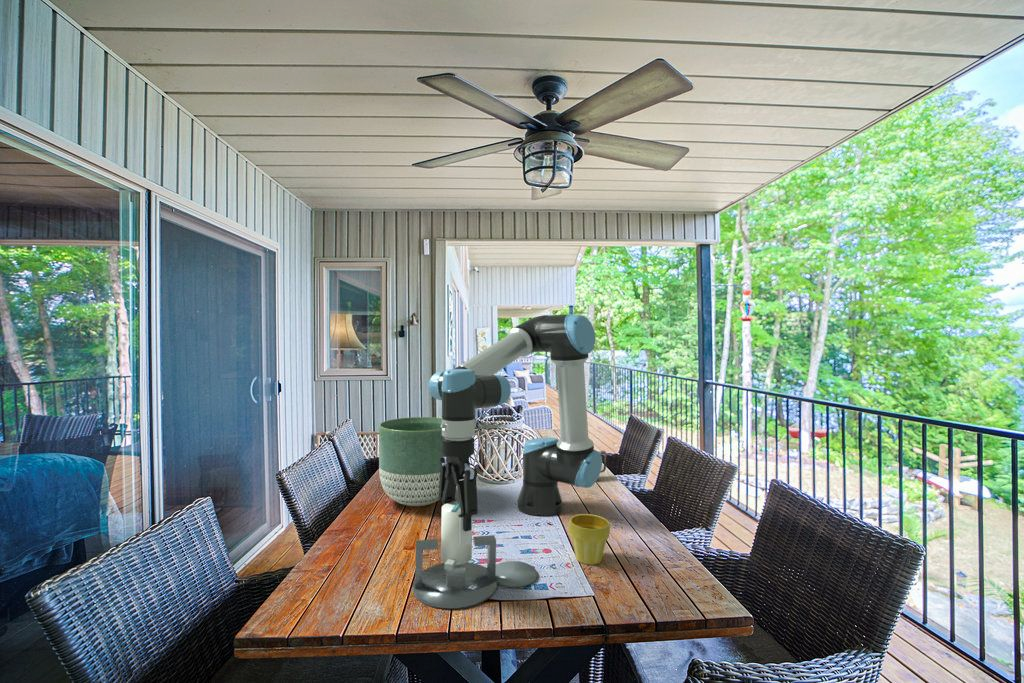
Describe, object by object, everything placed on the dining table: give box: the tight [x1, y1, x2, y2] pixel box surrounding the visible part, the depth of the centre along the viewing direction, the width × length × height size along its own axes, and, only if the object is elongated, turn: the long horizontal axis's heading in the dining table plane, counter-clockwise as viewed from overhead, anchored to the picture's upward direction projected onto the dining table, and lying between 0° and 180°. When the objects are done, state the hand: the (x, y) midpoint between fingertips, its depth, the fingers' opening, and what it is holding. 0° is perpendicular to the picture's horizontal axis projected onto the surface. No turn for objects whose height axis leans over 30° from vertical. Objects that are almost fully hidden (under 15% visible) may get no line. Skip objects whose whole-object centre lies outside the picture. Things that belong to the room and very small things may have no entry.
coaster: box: [495, 560, 538, 589], centre depth 110 cm, size 11×11×1 cm
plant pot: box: [568, 513, 611, 566], centre depth 119 cm, size 10×10×10 cm
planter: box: [378, 416, 446, 507], centre depth 158 cm, size 27×27×27 cm
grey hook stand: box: [412, 534, 498, 610], centre depth 105 cm, size 19×19×10 cm
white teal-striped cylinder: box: [440, 501, 473, 570], centre depth 105 cm, size 12×7×12 cm, turn 169°
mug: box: [594, 449, 607, 481], centre depth 187 cm, size 10×7×12 cm
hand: (456, 537), depth 105 cm, fingers closed on white teal-striped cylinder, 7 cm apart
